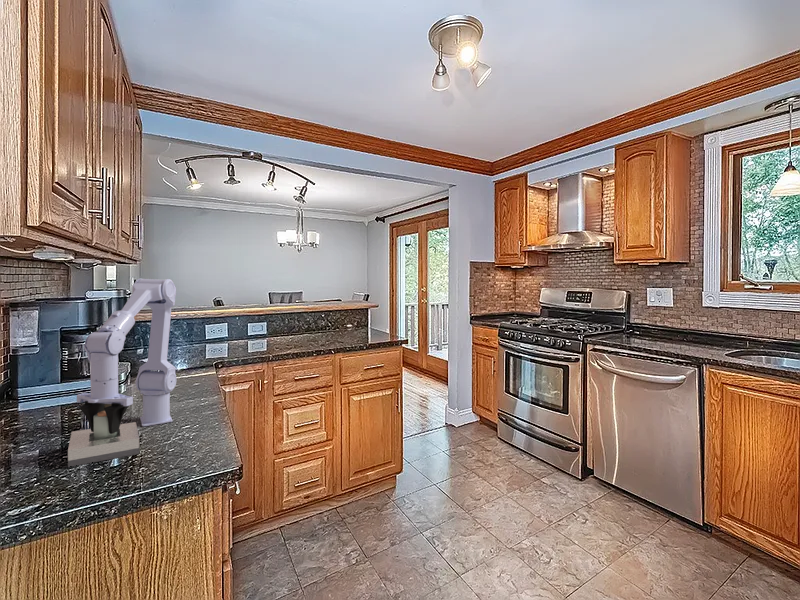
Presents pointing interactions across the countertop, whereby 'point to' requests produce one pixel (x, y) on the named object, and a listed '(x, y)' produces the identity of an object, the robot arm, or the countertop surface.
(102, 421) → the cylinder with orange cap
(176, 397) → the countertop surface
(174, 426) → the countertop surface
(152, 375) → the robot arm
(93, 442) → the beige square slab
